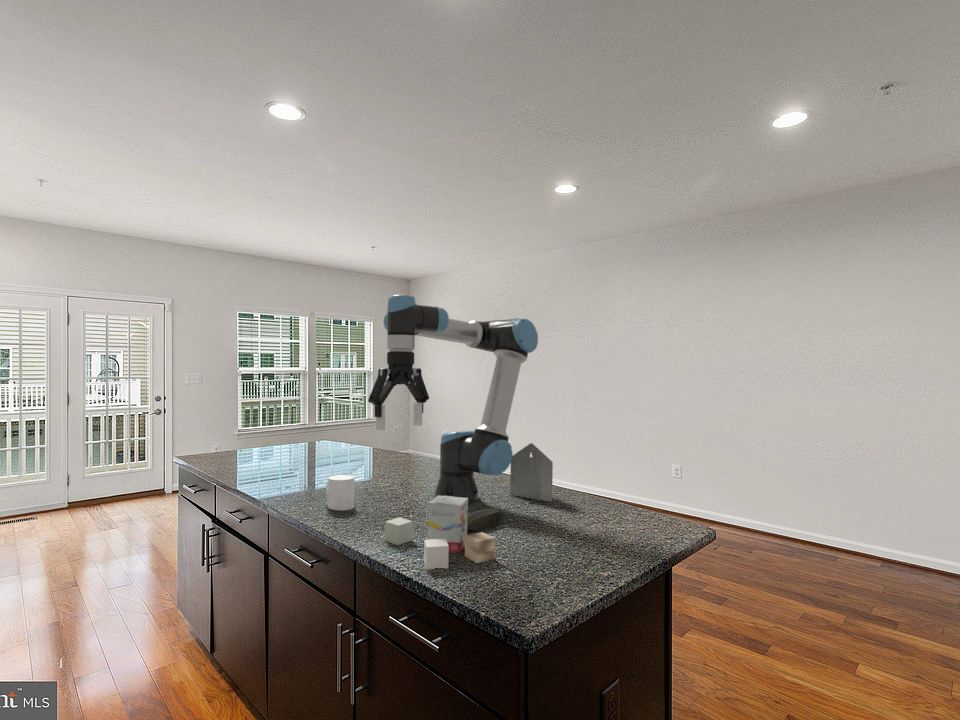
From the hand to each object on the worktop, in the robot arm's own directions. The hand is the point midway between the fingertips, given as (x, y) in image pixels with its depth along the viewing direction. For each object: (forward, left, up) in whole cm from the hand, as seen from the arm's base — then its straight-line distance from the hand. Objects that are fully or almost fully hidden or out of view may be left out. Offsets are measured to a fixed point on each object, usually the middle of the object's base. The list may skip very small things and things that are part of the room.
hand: (399, 427), depth 141 cm
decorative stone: (-23, +6, -29) cm, 37 cm away
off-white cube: (0, +28, -28) cm, 40 cm away
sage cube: (+3, +9, -28) cm, 30 cm away
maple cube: (-11, +28, -28) cm, 41 cm away
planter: (-56, -17, -28) cm, 65 cm away
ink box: (-7, +18, -28) cm, 34 cm away
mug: (+11, -30, -28) cm, 42 cm away
